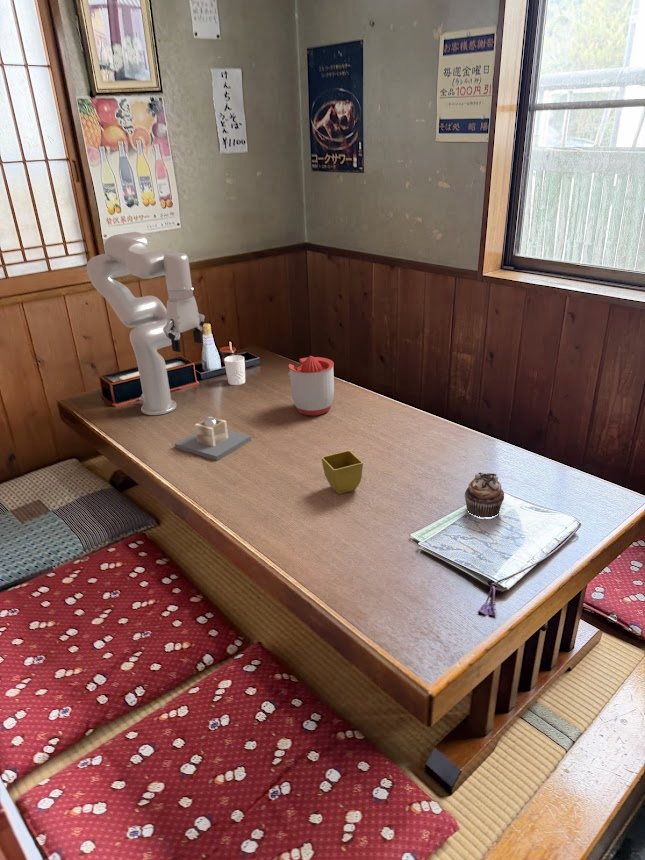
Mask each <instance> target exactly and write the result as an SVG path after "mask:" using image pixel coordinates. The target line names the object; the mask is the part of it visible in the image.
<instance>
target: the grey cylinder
mask: <svg viewBox="0 0 645 860" xmlns="http://www.w3.org/2000/svg"><path fill="white" fill-rule="evenodd" d="M206 418H207V419H206ZM206 418H205V419H203V420H204V421H205V426H208V427H213V426H214V425H216V424H217V423H216V418H217V417H214V418H208V417H206Z"/></svg>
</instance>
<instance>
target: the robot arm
mask: <svg viewBox="0 0 645 860" xmlns="http://www.w3.org/2000/svg"><path fill="white" fill-rule="evenodd" d="M103 249H104V252H105V253H103V254H98V255H95V256H93V257H91V258H90V259H89V260H88V261H87V264H86V271H87V272H86V273H87V276H88V278H89V280H90V282H91V284H92V286H93V287H94V288H95V289H96V291H97V292H98V293H99V294H100V295H101V296H102V297H103V298H104V299H106V302H107V303H108V304H109V305H110V307H111V308H112V310H113V312H114V313H115V314H116V316H117V317H118V319H119V321H120V322H121V323H122V324H123V325H124V326H125V327H126V328H132V329H131V331H130V332H129V341H130V344H131V346H132V349H133V352H134V355H135V359H136V364H137V369H138V375H139V380H140V385H141V391H142V394H141V395H140V397H139V398H138V400H139V401H141V402H142V403H143V404H142V406H141V407H140V408H141V413H142V414H144V415H147V416H158V415H159V416H160V415H164V414H169V413H170V412H172V411H174V410H175V409H176V408H177V407H178V406H177V402H176V401H175V400H173V399H172V395H171V389H170V384H169V377H168V371H167V366H166V361H165V359H164V357H163V356H162V355H161V354H160V353H159V352H158V350H160V349H163V348H165V347H171V348H172V352H177V353H181V351H182V348H181V341H180V338H181V333H184V332H187V331H191V330H192V329H193V330H192V336H193V341H194V343H196V344H203V337H202V331H203V326H204V324H205V318H206V315H204V314H202V313H199V309H198V304H197V300H196V298H195V296H194V293H193V292H194V291H195V290H194V287H193V285H192V276H191V269H190V262H189V261H190V260H189V257H188V255H187V254H186V253H184V252H178V251H176V250H174V249H171V248H170V249H169V248H167V249H161V250H157V251H156V250H154V251H149V249H150V245H149V241H148V239H147V237H146V236H145V235H144V234H143V233H141V232H138V231H132V232H125V233H119V234H114V235H113V234H112V235H110V236H109V237H107V239H105V242H104V244H103ZM129 275H132V276H135V277H137V278H139V279H153V278H157V277H162V276H165V284H166V288H167V289H166V290H167V297H168V300H167V301H166V306H165V304H163V302H162V300H160V299H159V298H158V297H157V296H154V295H144V296H139V297H136V296H135V295H133V293H132V292H131V290H130V289H129V287H127V286H126V285H125V284H123V283H122V282H119V280H115V278H121V277H125V276H129Z"/></svg>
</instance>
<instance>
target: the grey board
mask: <svg viewBox="0 0 645 860" xmlns="http://www.w3.org/2000/svg"><path fill="white" fill-rule="evenodd" d="M227 430H228V438H227V439H226V440H224V441H222V442H220V443H219V444H217V445H215V446H214V447H213V446H210V445H207V444H203V443H200V442H197V437H196V431H195V432H194V433H192V434H190V435H188V436H186V437H185V438H183V439H181V440H179V441H177V442H175V443H174V447H175V449H178V450H181V451H184V452H186V453H187V452H188V453H190V452H191V453H190V454H194V455H197V456H201V457H204V458H207V459H209V460H213V461H215V462H218V461H220V460H221V459H223V458H224V457H226V456H228V455H229V454H231V453H232V451H233V452H235V451H236V450H237V448H238V449H240V448H241V447H242V445H243V446H244V445H246V444H248V443H249V442H251V441H252V437H251V435H249V434H244V433H241V432H236V431H235V430H234V431H233V430H230V429H227ZM248 441H249V442H248ZM245 443H246V444H245ZM240 446H241V447H240Z"/></svg>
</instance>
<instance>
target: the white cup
mask: <svg viewBox="0 0 645 860" xmlns="http://www.w3.org/2000/svg"><path fill="white" fill-rule="evenodd" d="M223 360H224V365H225V366H224V369H225V371H226V377H227V383H228V384H229V385H231V386H241V385H244V384H245V383H246V365H245V361H246V360H245V356H243V355H241V354H239V355H238V354H237V355H229V356H226V357H225V358H224V359H223Z"/></svg>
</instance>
